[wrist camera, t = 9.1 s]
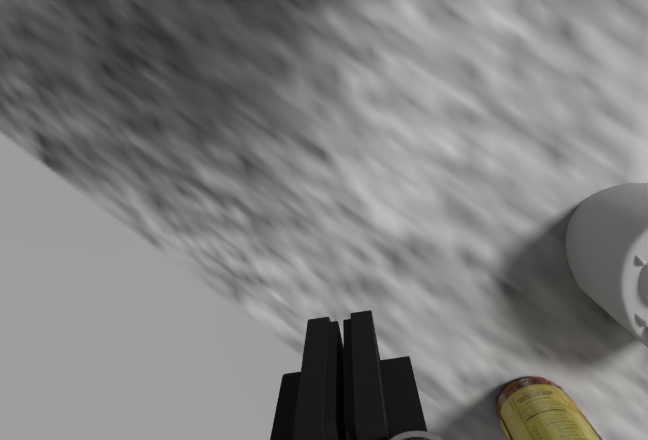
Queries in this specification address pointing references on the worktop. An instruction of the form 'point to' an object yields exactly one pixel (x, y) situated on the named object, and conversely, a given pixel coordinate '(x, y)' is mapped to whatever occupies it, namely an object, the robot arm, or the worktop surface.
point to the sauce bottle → (541, 412)
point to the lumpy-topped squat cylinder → (613, 253)
